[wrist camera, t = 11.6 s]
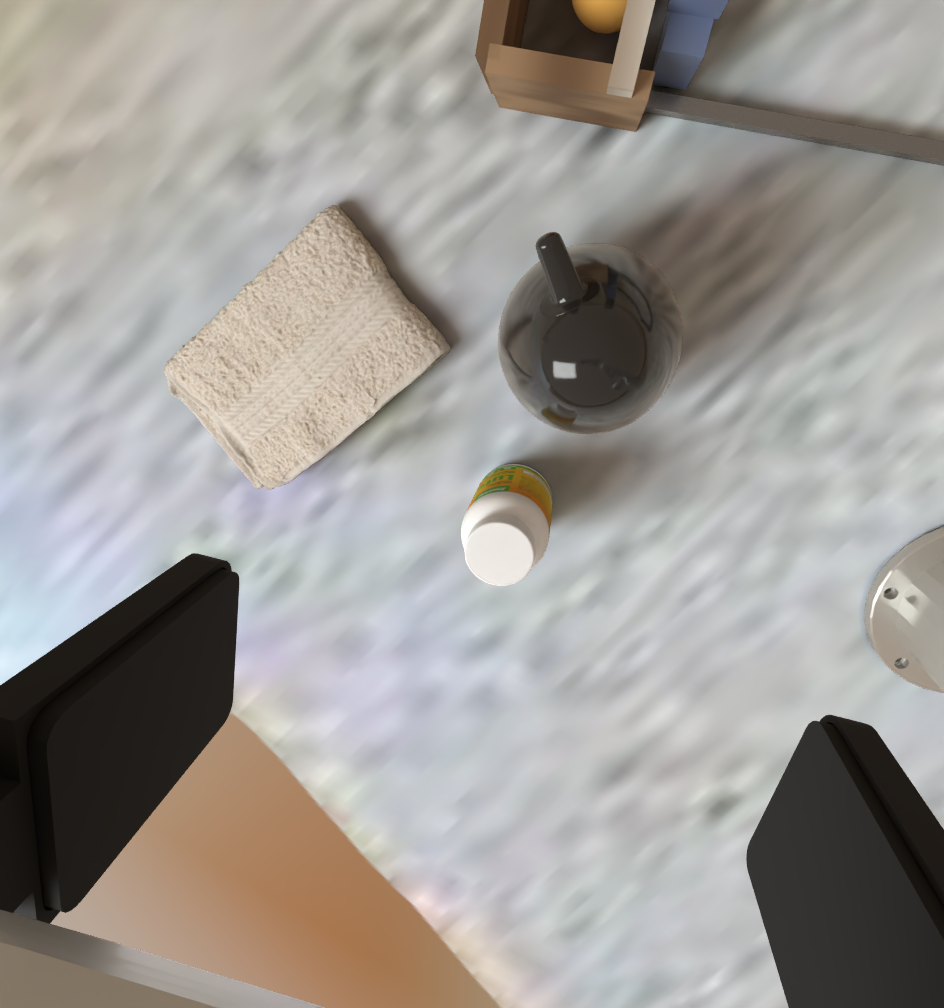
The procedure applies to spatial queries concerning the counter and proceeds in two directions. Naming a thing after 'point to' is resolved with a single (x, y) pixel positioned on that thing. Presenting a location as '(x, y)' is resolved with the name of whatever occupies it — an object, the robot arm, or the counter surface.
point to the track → (796, 127)
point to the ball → (601, 14)
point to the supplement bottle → (507, 524)
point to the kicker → (684, 40)
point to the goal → (565, 70)
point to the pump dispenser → (589, 336)
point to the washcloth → (304, 353)
